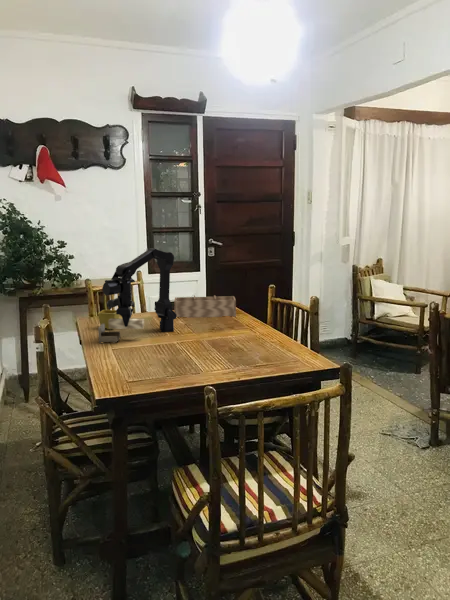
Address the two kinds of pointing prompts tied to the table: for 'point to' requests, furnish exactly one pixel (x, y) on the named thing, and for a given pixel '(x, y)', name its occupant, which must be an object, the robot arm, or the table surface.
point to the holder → (205, 306)
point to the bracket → (107, 335)
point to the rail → (131, 325)
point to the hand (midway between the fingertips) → (126, 325)
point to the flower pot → (107, 317)
